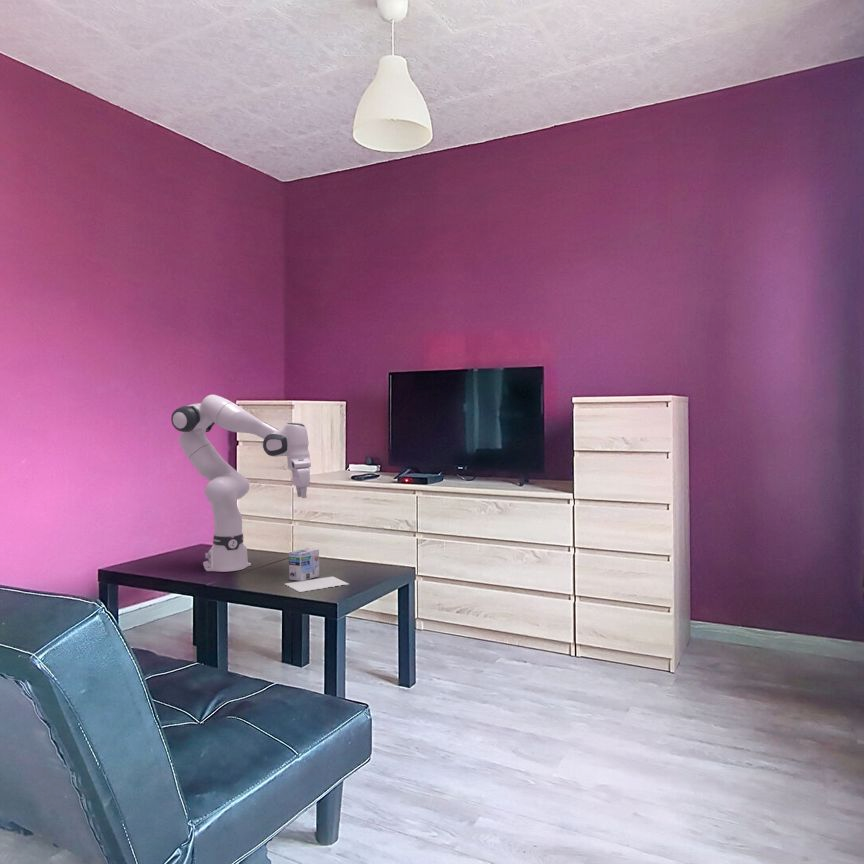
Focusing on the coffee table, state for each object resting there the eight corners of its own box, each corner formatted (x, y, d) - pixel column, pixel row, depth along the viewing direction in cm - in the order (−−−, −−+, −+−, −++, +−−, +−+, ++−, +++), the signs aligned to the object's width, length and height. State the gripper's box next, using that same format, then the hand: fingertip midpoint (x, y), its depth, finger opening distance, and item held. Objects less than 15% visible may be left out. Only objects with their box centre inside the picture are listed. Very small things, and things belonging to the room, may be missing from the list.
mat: (284, 584, 250) (284, 583, 250) (332, 577, 262) (332, 576, 261) (299, 592, 239) (299, 591, 239) (349, 584, 250) (349, 583, 250)
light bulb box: (301, 581, 253) (301, 553, 253) (288, 580, 257) (287, 552, 257) (320, 576, 262) (319, 548, 262) (307, 574, 266) (306, 547, 266)
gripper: (287, 463, 273) (290, 496, 273) (295, 464, 254) (298, 499, 254) (302, 462, 275) (305, 495, 275) (311, 462, 256) (314, 498, 256)
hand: (302, 497), depth 265 cm, fingers open, 8 cm apart
